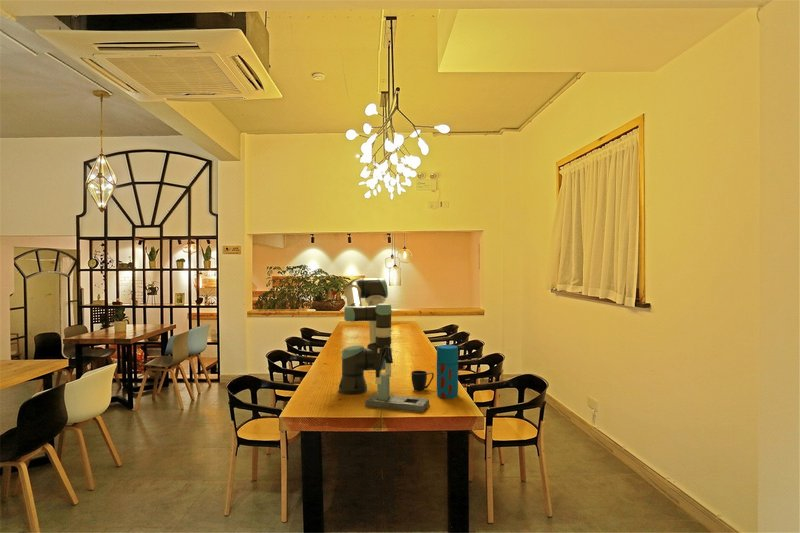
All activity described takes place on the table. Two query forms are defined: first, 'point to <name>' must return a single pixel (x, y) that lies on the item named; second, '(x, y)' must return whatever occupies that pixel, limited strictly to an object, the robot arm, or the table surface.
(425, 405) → the panel
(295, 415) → the table surface
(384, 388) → the plug
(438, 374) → the thermos
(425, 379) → the mug
